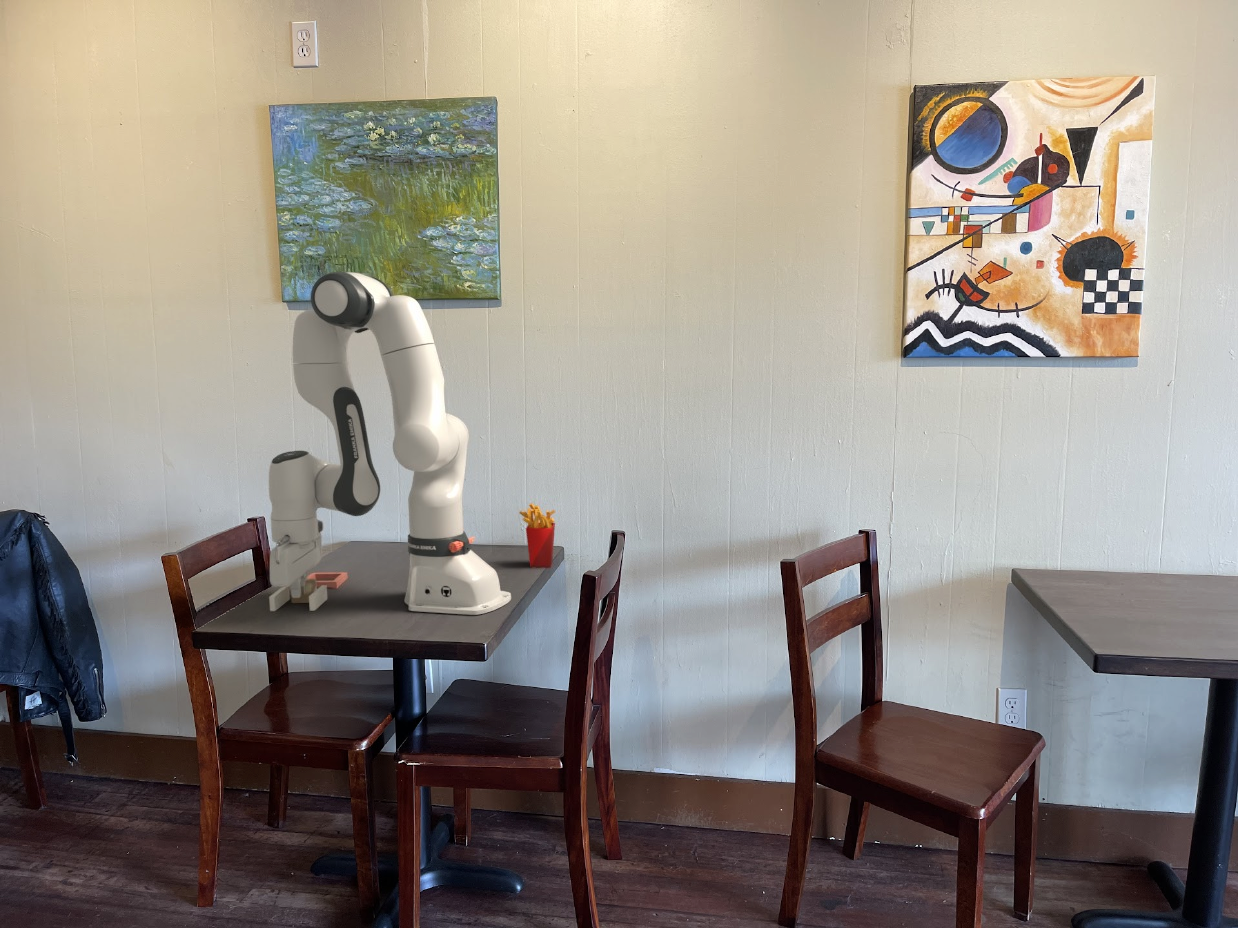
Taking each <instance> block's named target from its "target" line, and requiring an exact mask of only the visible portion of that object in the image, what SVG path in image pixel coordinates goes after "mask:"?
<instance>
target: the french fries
mask: <svg viewBox="0 0 1238 928" xmlns="http://www.w3.org/2000/svg"><path fill="white" fill-rule="evenodd" d="M528 506H529V507H530V508H527V509H526V510H524V511H523V510H520V511H519V515H521V516H522V517H523V518H522V521H523V522H524V523H526V524H527V526H526V528H525V531H526V533H525V534H526V540H527V550H528V557H529V559H528V560H529V566H530V567H547V568H548V569H550V568H551V567H552V564H553V558H554V557H553V556H554V546H555V545H554V544H555V528H556V522H555V519H554V517H551V516H552V515H554V514H555V513H556V510H555V509H553V510H551V511H550V510H546V511H545V513H546V515H544V514H543V513H542V511H541V508H540V506H539V505H538V504H537V505H534V503H529V504H528ZM526 511H527V512H526ZM547 568H546V569H547Z"/></svg>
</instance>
